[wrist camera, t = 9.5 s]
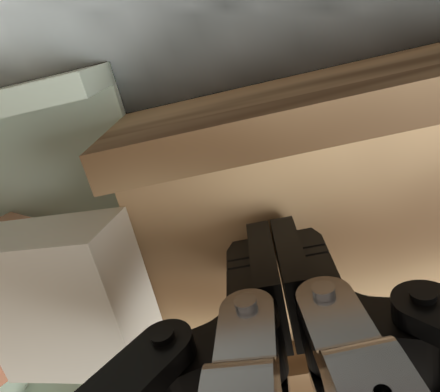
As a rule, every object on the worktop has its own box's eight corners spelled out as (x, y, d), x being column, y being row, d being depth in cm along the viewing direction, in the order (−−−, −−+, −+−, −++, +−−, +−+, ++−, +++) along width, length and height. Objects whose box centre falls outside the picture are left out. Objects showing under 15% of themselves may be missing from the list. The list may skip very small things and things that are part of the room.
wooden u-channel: (125, 114, 16) (78, 156, 11) (527, 22, 15) (694, 20, 9) (189, 316, 20) (177, 420, 14) (513, 258, 18) (627, 350, 13)
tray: (-109, 114, 16) (-193, 136, 13) (109, 61, 15) (78, 71, 12) (31, 376, 21) (-4, 439, 18) (199, 348, 20) (194, 408, 17)
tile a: (-1, 221, 14) (-57, 257, 12) (125, 206, 13) (88, 244, 11) (50, 333, 16) (9, 382, 14) (166, 331, 15) (140, 384, 13)
